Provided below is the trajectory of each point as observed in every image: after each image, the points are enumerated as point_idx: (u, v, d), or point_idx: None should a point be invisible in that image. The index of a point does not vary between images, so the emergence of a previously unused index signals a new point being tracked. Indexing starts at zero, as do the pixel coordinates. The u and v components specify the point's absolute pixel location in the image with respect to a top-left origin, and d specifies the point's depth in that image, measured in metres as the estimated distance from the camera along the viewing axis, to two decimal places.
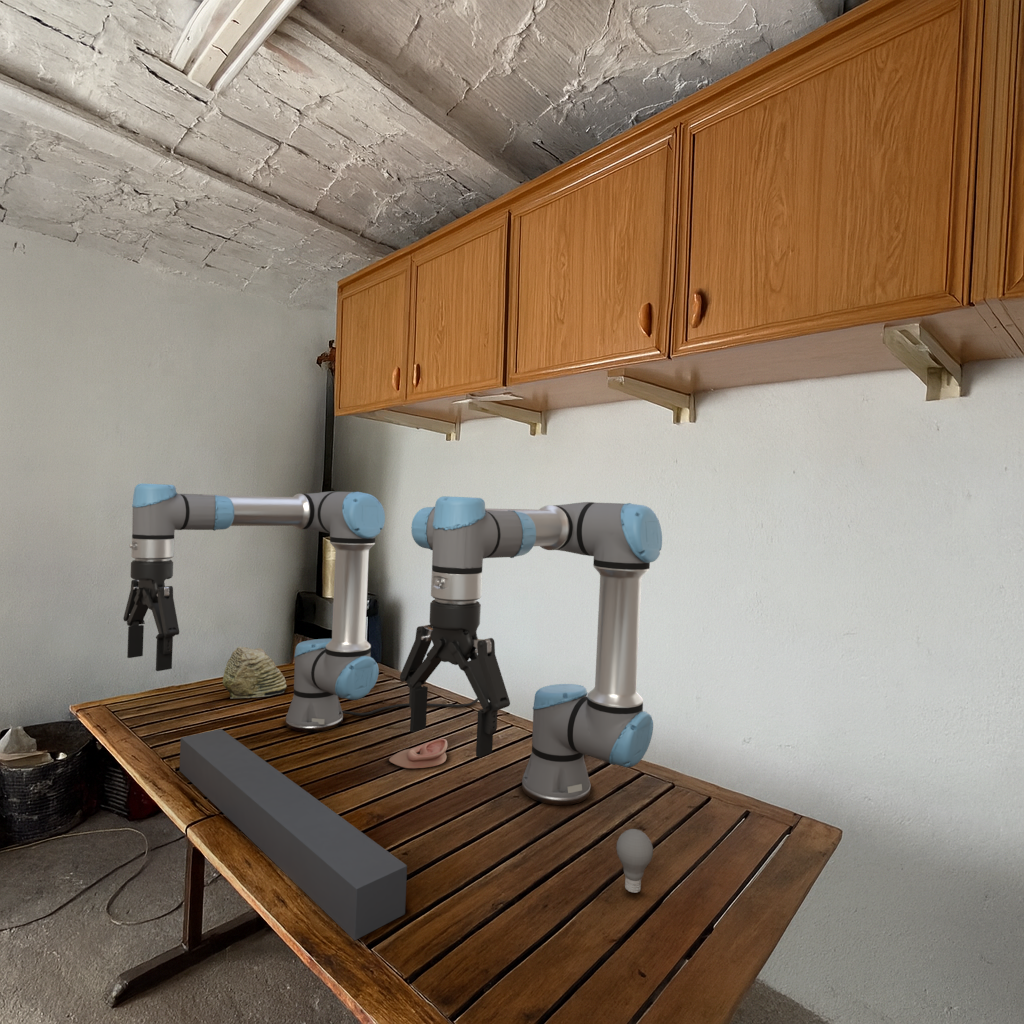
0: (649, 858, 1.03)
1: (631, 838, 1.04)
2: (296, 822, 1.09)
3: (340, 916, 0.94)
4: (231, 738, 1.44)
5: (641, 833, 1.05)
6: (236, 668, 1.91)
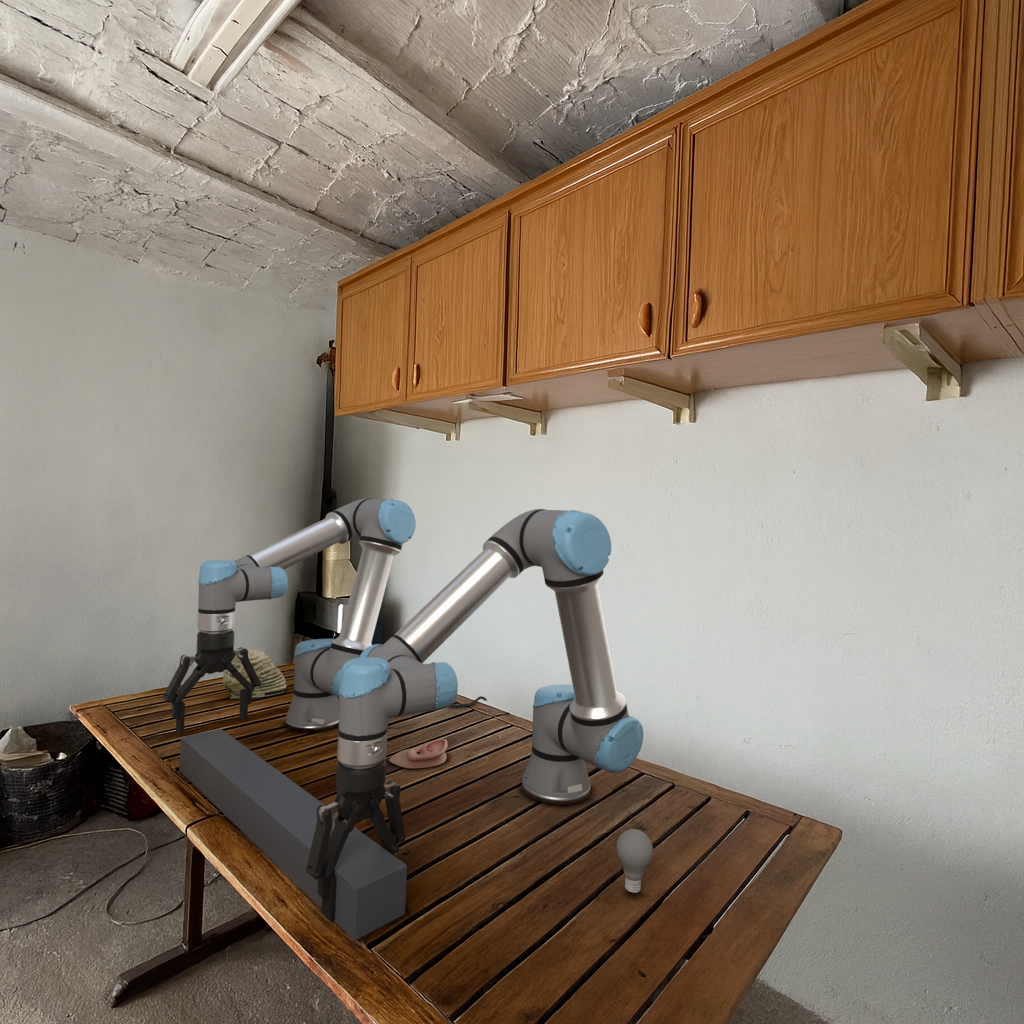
0: (649, 858, 1.03)
1: (631, 838, 1.04)
2: (296, 822, 1.09)
3: (340, 916, 0.94)
4: (231, 738, 1.44)
5: (641, 833, 1.05)
6: (236, 668, 1.91)
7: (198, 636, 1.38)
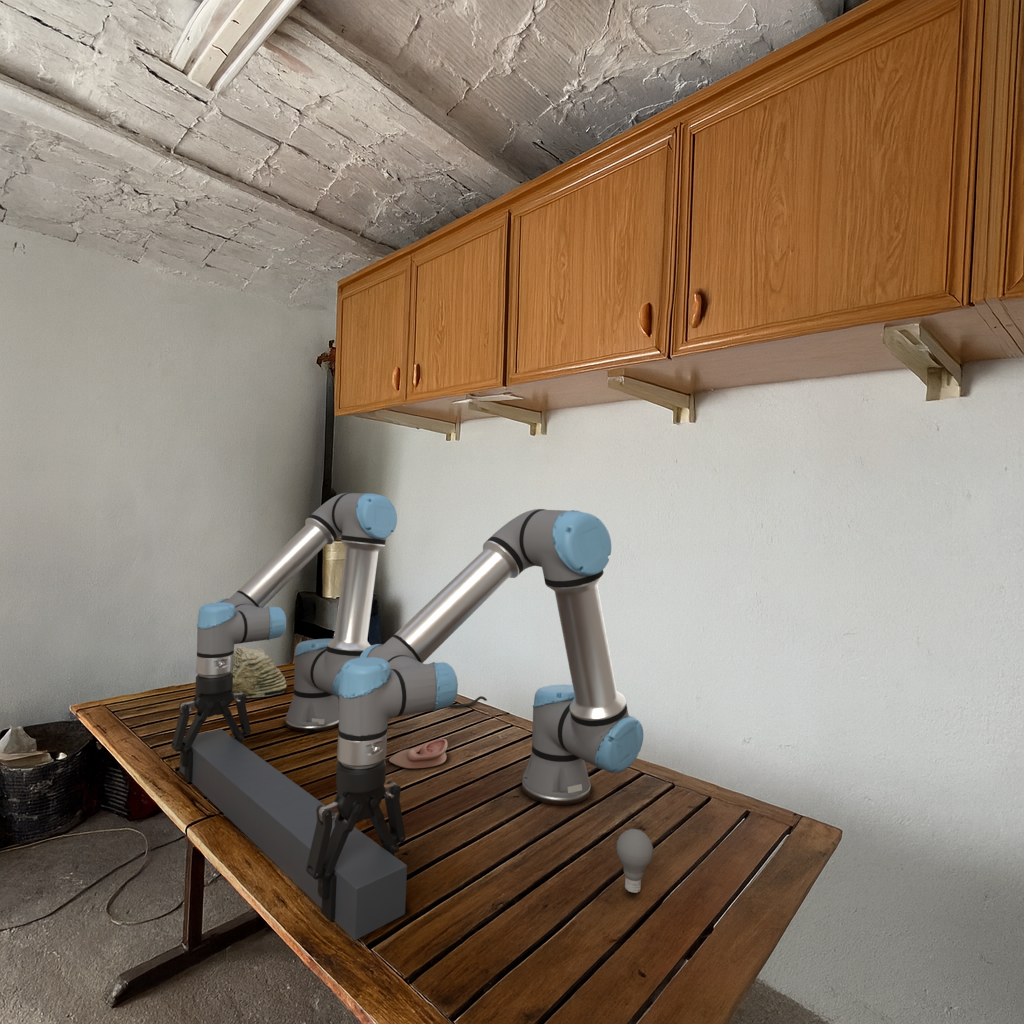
0: (649, 858, 1.03)
1: (631, 838, 1.04)
2: (296, 822, 1.09)
3: (340, 916, 0.94)
4: (231, 738, 1.44)
5: (641, 833, 1.05)
6: (236, 668, 1.91)
7: (197, 680, 1.38)
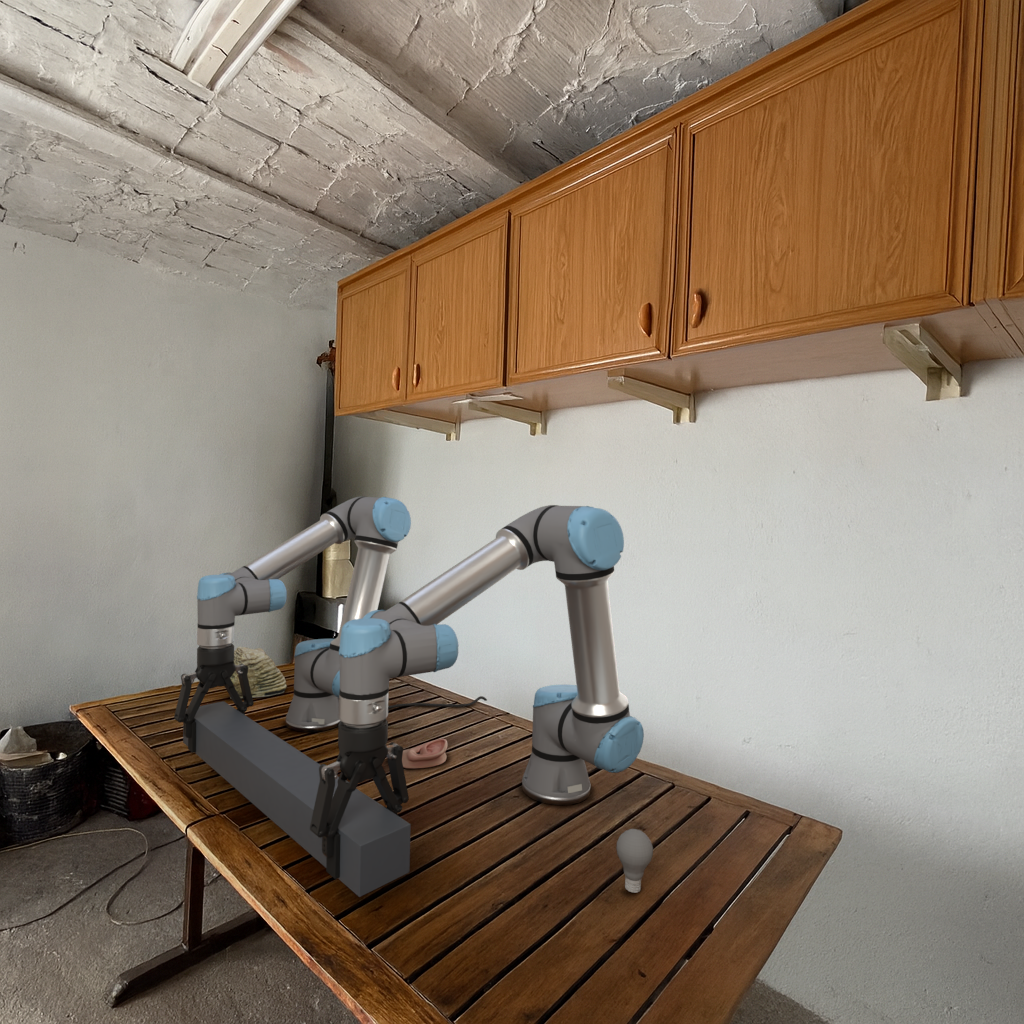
0: (649, 858, 1.03)
1: (631, 838, 1.04)
2: (300, 785, 1.09)
3: (345, 874, 0.94)
4: (234, 710, 1.44)
5: (641, 833, 1.05)
6: None
7: (198, 651, 1.38)
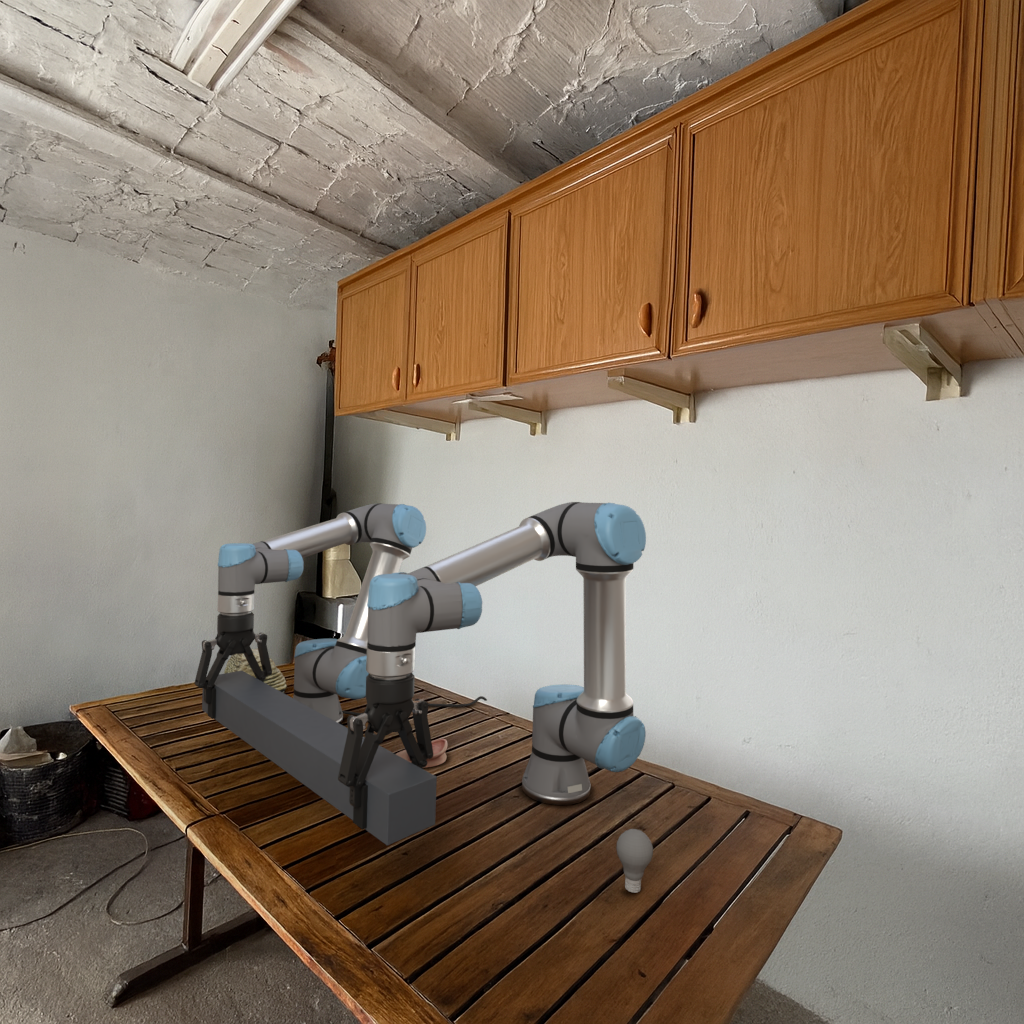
0: (649, 858, 1.03)
1: (631, 838, 1.04)
2: (324, 742, 1.10)
3: (372, 824, 0.95)
4: (253, 678, 1.45)
5: (641, 833, 1.05)
6: (236, 668, 1.91)
7: (218, 618, 1.39)
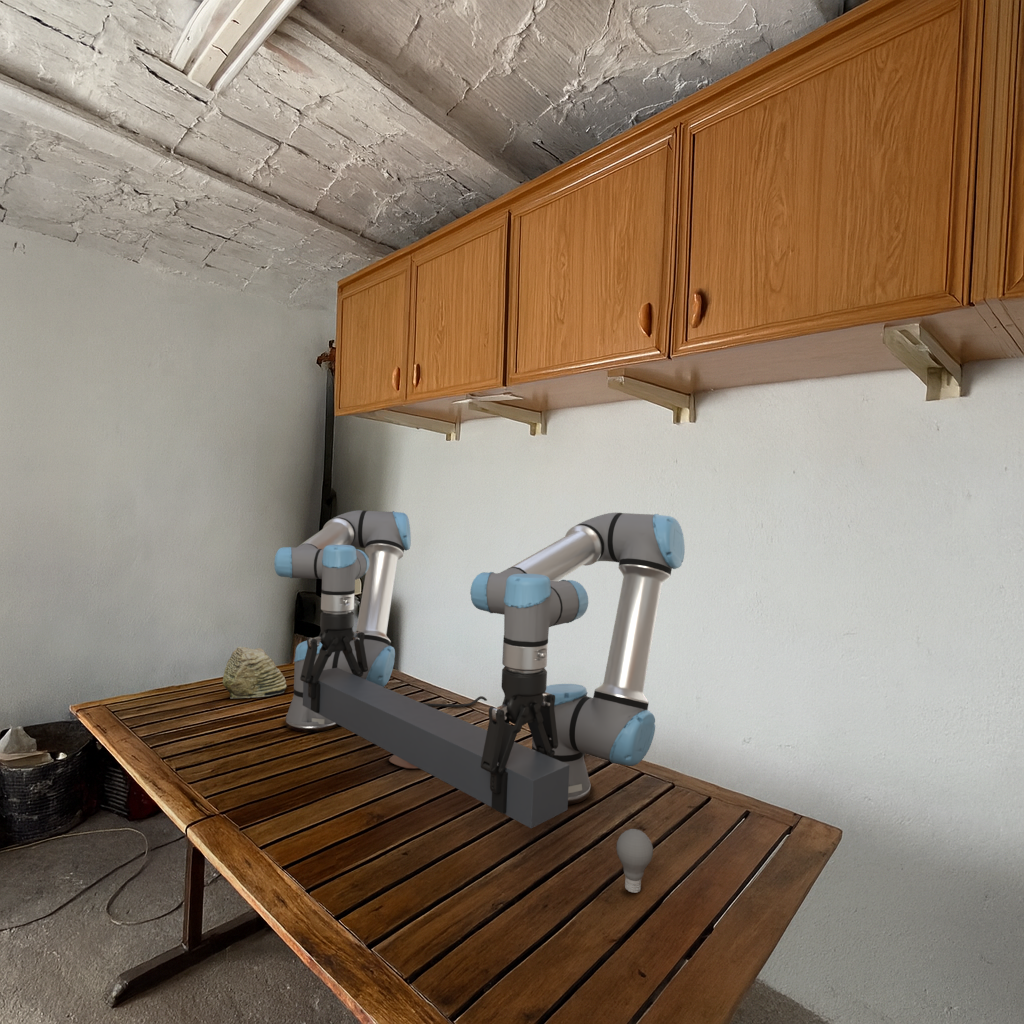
0: (649, 858, 1.03)
1: (631, 838, 1.04)
2: (449, 734, 1.16)
3: (513, 809, 1.01)
4: (351, 674, 1.51)
5: (641, 833, 1.05)
6: (236, 668, 1.91)
7: (323, 616, 1.45)
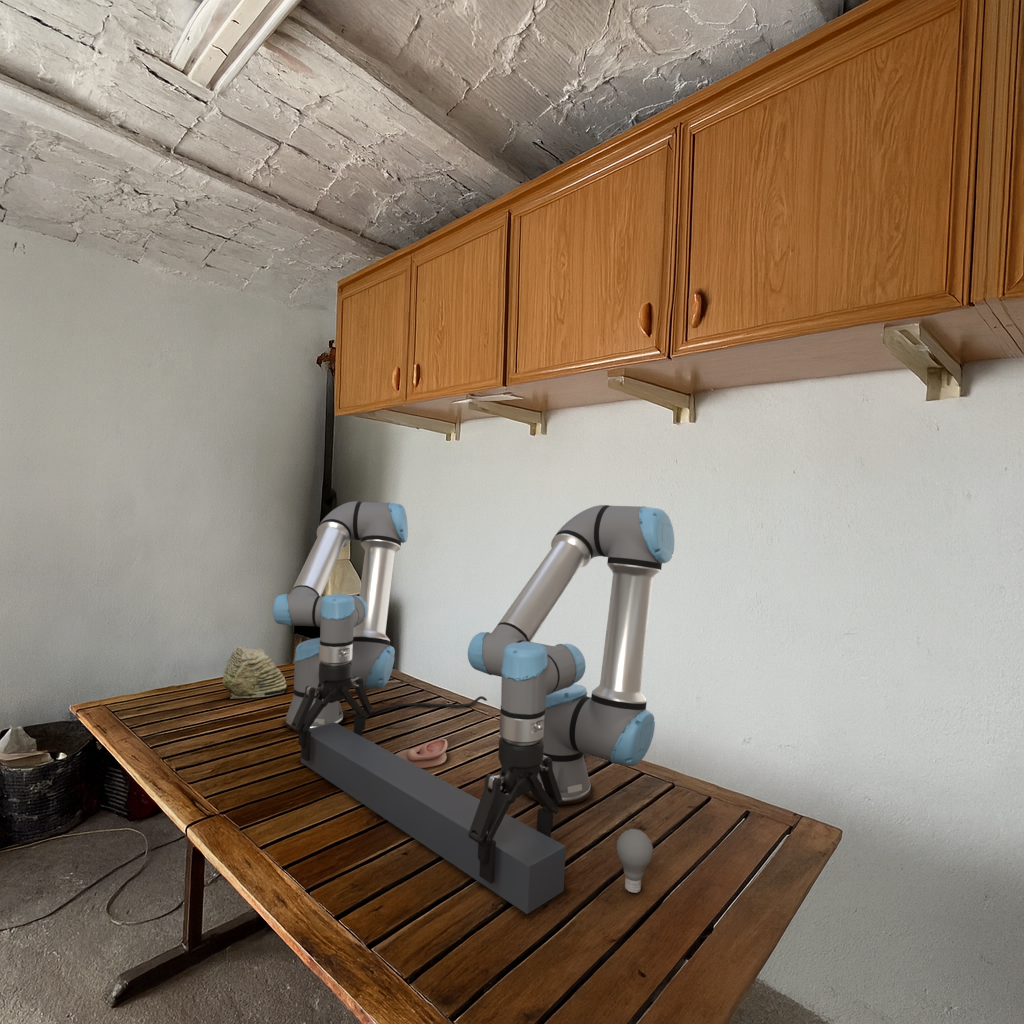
0: (649, 858, 1.03)
1: (631, 838, 1.04)
2: (446, 807, 1.16)
3: (509, 892, 1.01)
4: (349, 731, 1.51)
5: (641, 833, 1.05)
6: (236, 668, 1.91)
7: (321, 667, 1.46)
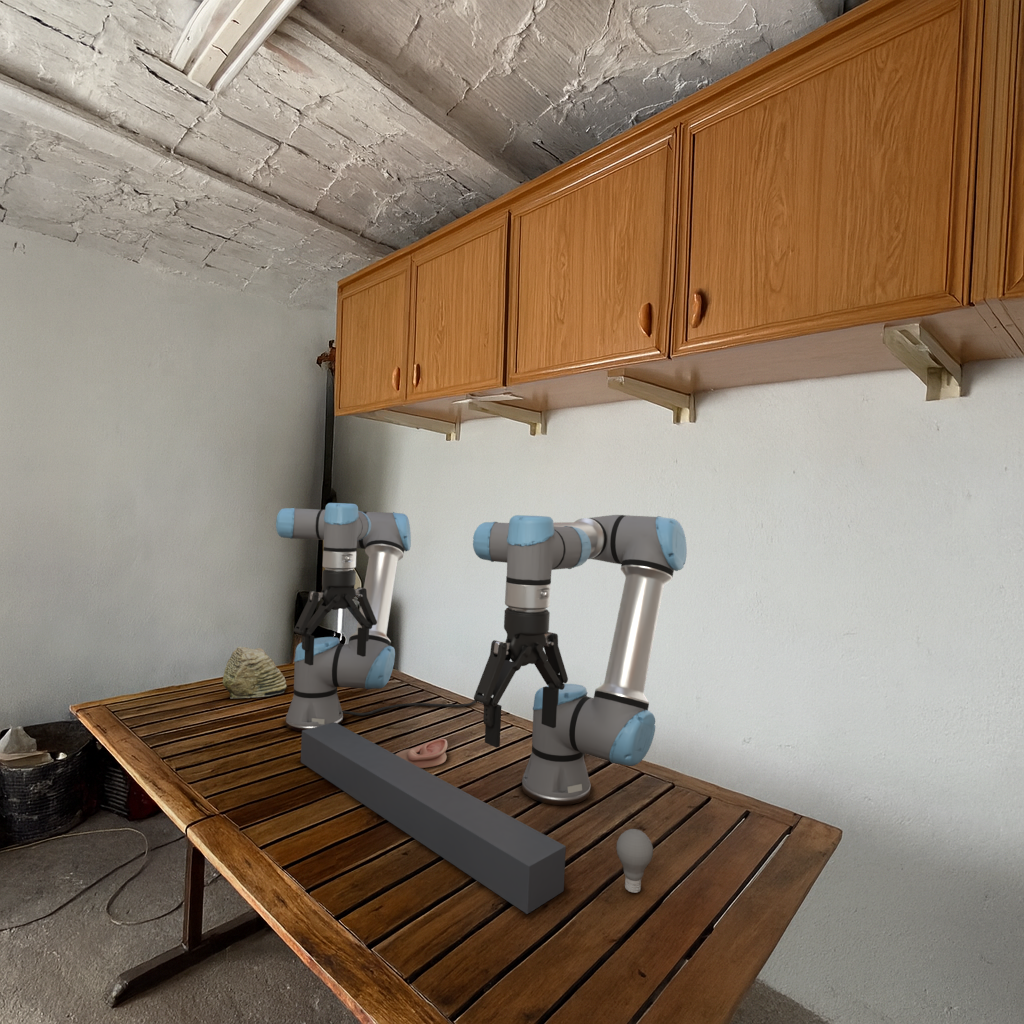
0: (649, 858, 1.03)
1: (631, 838, 1.04)
2: (446, 807, 1.16)
3: (509, 892, 1.01)
4: (349, 731, 1.51)
5: (641, 833, 1.05)
6: (236, 668, 1.91)
7: (324, 573, 1.45)
